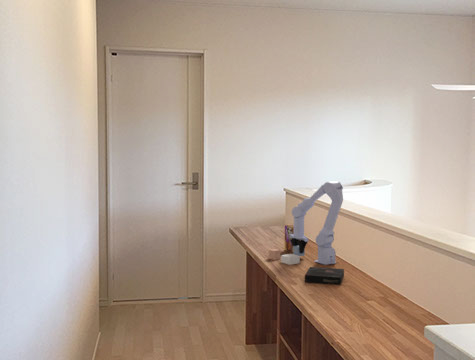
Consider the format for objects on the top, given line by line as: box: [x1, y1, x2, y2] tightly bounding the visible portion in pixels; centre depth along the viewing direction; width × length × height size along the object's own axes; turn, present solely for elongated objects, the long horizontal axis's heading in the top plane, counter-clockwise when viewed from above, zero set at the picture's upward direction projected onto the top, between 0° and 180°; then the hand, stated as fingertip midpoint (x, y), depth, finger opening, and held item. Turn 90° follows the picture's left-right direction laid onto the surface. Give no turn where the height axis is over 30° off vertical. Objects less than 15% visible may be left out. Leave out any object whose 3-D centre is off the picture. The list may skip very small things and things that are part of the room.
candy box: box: [284, 224, 294, 253], centre depth 330 cm, size 9×4×15 cm, turn 39°
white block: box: [280, 253, 301, 266], centre depth 302 cm, size 7×7×4 cm
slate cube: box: [292, 245, 306, 257], centre depth 311 cm, size 4×4×5 cm
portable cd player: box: [304, 266, 345, 286], centre depth 268 cm, size 16×17×4 cm
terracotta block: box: [268, 248, 281, 261], centre depth 311 cm, size 4×4×5 cm
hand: (298, 252), depth 312 cm, fingers closed on slate cube, 4 cm apart
